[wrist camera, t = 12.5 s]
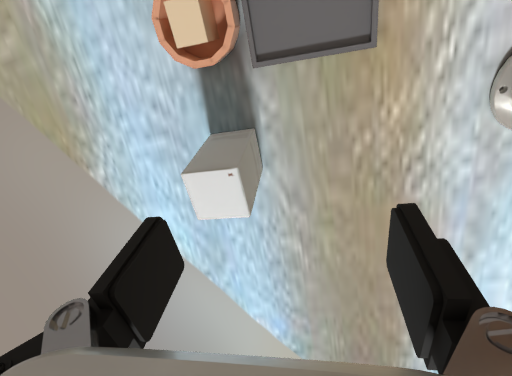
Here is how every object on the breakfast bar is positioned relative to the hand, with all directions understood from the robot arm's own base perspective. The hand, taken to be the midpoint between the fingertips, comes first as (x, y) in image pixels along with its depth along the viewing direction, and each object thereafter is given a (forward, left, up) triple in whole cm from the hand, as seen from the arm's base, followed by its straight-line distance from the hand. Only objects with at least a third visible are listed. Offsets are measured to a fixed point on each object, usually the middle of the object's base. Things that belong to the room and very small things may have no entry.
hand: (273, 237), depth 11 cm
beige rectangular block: (+11, -9, -30) cm, 33 cm away
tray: (-2, -10, -30) cm, 32 cm away
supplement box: (+10, +9, -31) cm, 33 cm away
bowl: (+11, -9, -30) cm, 33 cm away
